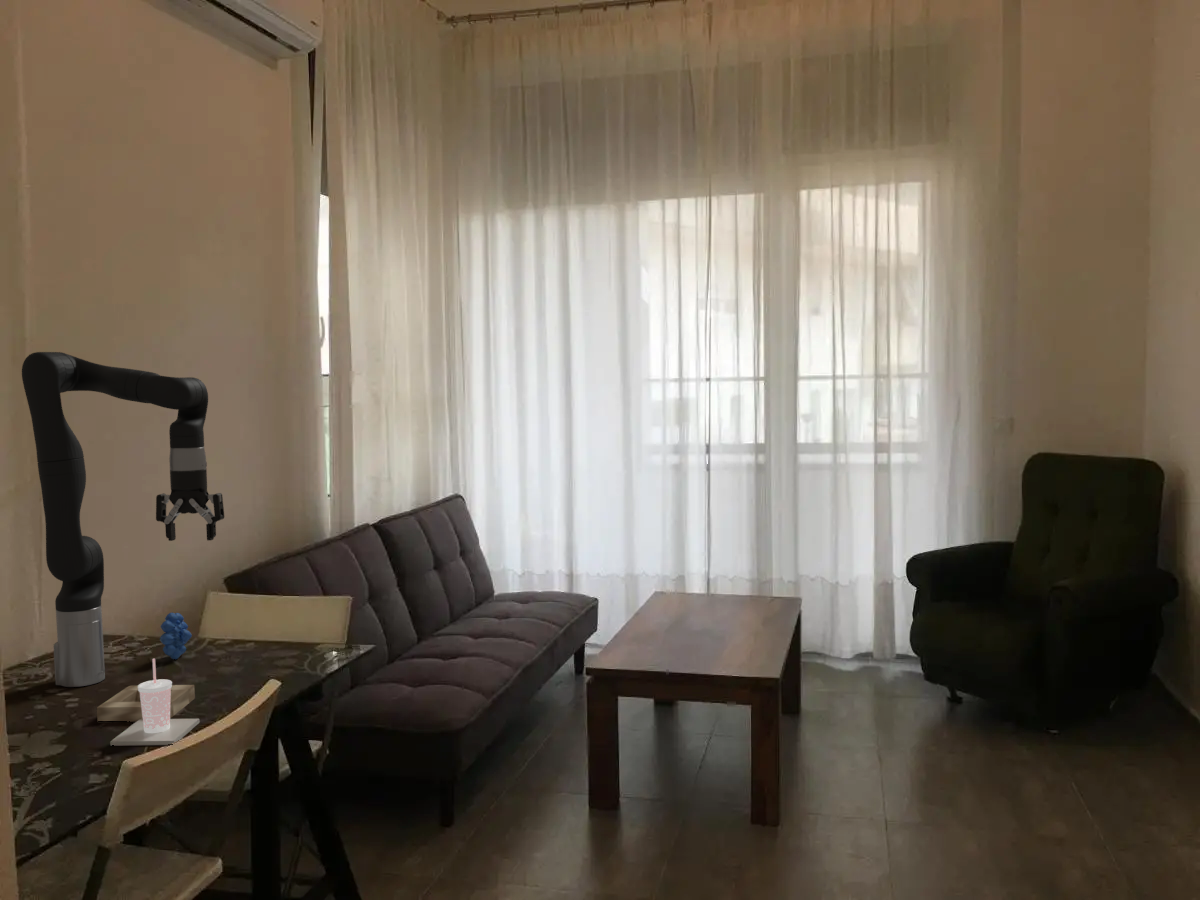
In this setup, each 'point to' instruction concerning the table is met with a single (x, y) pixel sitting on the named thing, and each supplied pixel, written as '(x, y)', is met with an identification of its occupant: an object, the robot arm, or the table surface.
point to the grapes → (174, 635)
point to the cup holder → (129, 703)
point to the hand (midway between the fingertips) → (191, 540)
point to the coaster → (140, 737)
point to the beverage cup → (155, 703)
